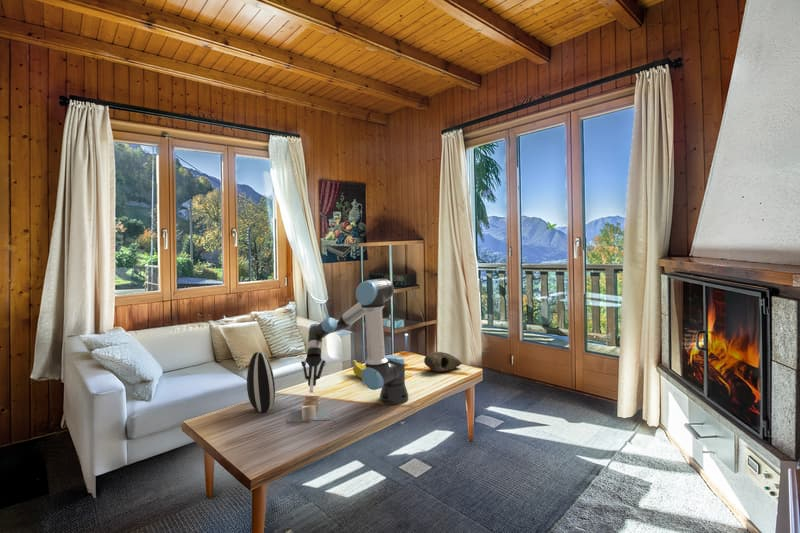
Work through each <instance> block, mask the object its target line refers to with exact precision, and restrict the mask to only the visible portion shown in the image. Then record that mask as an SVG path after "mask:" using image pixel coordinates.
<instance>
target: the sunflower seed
mask: <svg viewBox="0 0 800 533" xmlns="http://www.w3.org/2000/svg"><path fill="white" fill-rule="evenodd" d="M246 374H247V375H246V390H247V396H248V400H249V403H250V404H251V406H252V407H253V409H254V410H256V411H257V412H259V413H267V412H270V410H271V409H272V408H273V405H274V403H275V398H276V385H275V384H276V383H275V377H274V371H273V368H272V365H271V363H270V360H269V357H268V356H267V355H266V354H265V352H262V351H256V352H254V353H253V354H252V356H251V358H250V361H249V365H248V368H247V373H246Z"/></svg>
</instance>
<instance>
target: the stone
mask: <svg viewBox="0 0 800 533" xmlns="http://www.w3.org/2000/svg"><path fill="white" fill-rule="evenodd" d="M423 362H424V364H425V365H426V367H427V368H428V369H430V371H432V372H437V373H442V372H443V373H445V372H446V371H451V370H453V369H456V368H458V367H459V366H461V365H463V364H462V362H461V360H459V359H458V358H457V357H455V356H454V355H452V354H449V353H447V352H443V351H437V352H436V351H435V352H430V353H428V354H426V355H425V357H424V359H423Z"/></svg>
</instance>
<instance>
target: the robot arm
mask: <svg viewBox="0 0 800 533" xmlns="http://www.w3.org/2000/svg"><path fill="white" fill-rule="evenodd" d="M394 292H395V288H394V285H393V283H392V282H391V281H390V280H389V279H387V278H375V279H367V280H364V281H362V282H360V283H359V284H358V286H357V287H356V291H355V298H356V300H357V301H358V302H357V303H356V304H354V305H353V306H352V307H350V308H349V309H347V310H346V311H345V312H344V313H343V314H341V315H340V316H338V317H326V318H325V319H324V320H322V321H321V322H319V323H311V325H309V328H308V329H309V330H308V339H307V352H306V358H305V360H304V361H303V360H302V361H301V363H300V364H301V366H302V368H303V374H304V378H305V380H306V381H307V385H308V386H309V393H311V394H313V393H314V387H316V385H317V380H320V378H321V376H322V373H323V369H324V367H325V366H326V365H327V364H326V363H327V362H326V360H325V359H324V360H323V359H322V348H323V347H322V345H323V339H324V338H325V337H326V336H328V335H330V334H333V333H336V332H341V331H344V330H348V329H350V328H352V326H353V324H354V323H355V322H356V321H358V320H359V319H361V318H362V317H365V318H364V319H365V321H364V322H365V333H366V335H365V336H366V347H367V359H366V360H365V361H364V363H365V365H364V366H365V367H366V368H365V369H364V370H363V371H362V374H361V377H362V379H361V380H362V382H363V384H364V386H365V387H366V388H368V389H370V390H371V391H373V390H374V391H376V390H378V389H381V390H380V393H379V401H380V402H381V403H383V404H386V405H401V404H404V403H406V402H407V401H409V393H408V390H407V386H406V381H405V380H406V378H405V374H406V373H405V372H406V371H405V370H406V369H405V367H406V366H405V365H406V363H405V358H404V357H403V356H400V355H397V354H396V355H395V354H394V355H393V354H387V355H386V354H385V353H386V350H385V338H384V337H385V335H384V323H383V321H384V319H383V309H384V308H385V306H386V305H385V302H387V301H389V300H390V299H391V298H393V295H394ZM306 365H308V372H307V367H306ZM319 365H320V366H319ZM318 366H319V369H318ZM312 373H313V377H312Z"/></svg>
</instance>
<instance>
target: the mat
mask: <svg viewBox="0 0 800 533" xmlns="http://www.w3.org/2000/svg"><path fill="white" fill-rule="evenodd" d="M332 410H333V407H318V411H317V414H316V418H315V419H312V420H302V408H299V409H298V408H296V409H291V411H290V413H289V415H288V418H287V420H286V423H300V422H301V423H303V422H319V421H330V420H331V417H332V412H333V411H332Z"/></svg>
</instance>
